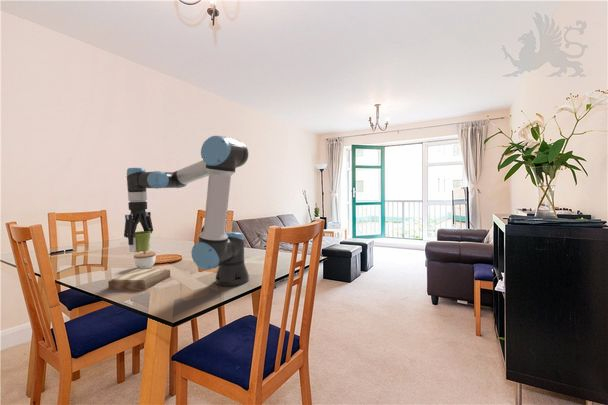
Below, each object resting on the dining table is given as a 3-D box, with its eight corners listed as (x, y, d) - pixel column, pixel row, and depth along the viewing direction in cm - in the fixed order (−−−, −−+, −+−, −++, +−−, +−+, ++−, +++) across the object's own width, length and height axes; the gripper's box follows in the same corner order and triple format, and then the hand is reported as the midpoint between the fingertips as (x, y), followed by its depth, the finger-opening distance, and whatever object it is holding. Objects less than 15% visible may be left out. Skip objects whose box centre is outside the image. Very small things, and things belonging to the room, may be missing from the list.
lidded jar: (160, 265, 164) (159, 249, 163) (148, 270, 153) (147, 253, 152) (143, 265, 165) (142, 249, 164) (129, 270, 154) (128, 253, 153)
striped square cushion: (170, 276, 142) (169, 268, 141) (145, 290, 124) (145, 281, 124) (137, 275, 144) (137, 268, 144) (108, 288, 126) (108, 280, 126)
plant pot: (141, 253, 128) (140, 234, 128) (124, 253, 130) (123, 234, 130) (156, 249, 137) (155, 231, 137) (140, 248, 139) (139, 230, 139)
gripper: (146, 200, 143) (148, 244, 145) (111, 202, 122) (114, 254, 123) (160, 199, 142) (162, 244, 143) (127, 202, 121) (130, 255, 122)
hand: (140, 249), depth 133 cm, fingers closed on plant pot, 9 cm apart
